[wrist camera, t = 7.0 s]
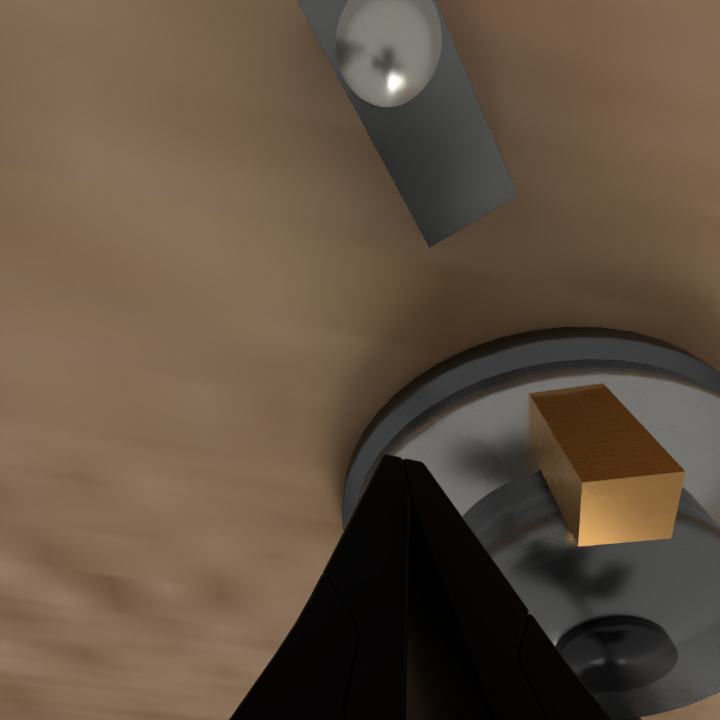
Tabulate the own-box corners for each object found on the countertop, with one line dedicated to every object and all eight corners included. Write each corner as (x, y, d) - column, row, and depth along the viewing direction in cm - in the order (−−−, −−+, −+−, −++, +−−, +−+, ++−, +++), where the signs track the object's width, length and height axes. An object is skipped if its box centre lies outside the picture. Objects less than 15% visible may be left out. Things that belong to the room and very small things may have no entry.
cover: (681, 623, 16) (749, 732, 13) (452, 636, 17) (467, 739, 14) (734, 446, 12) (849, 545, 9) (432, 478, 13) (446, 574, 10)
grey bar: (499, 188, 12) (520, 196, 10) (423, 234, 12) (429, 249, 10) (393, -55, 9) (395, -102, 8) (307, 17, 10) (290, -11, 8)
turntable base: (712, 605, 20) (728, 627, 19) (381, 630, 22) (381, 651, 21) (806, 285, 12) (839, 296, 12) (299, 369, 15) (294, 384, 14)
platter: (721, 630, 18) (821, 773, 14) (387, 650, 20) (389, 781, 16) (826, 322, 12) (1075, 420, 7) (313, 396, 14) (283, 508, 9)
